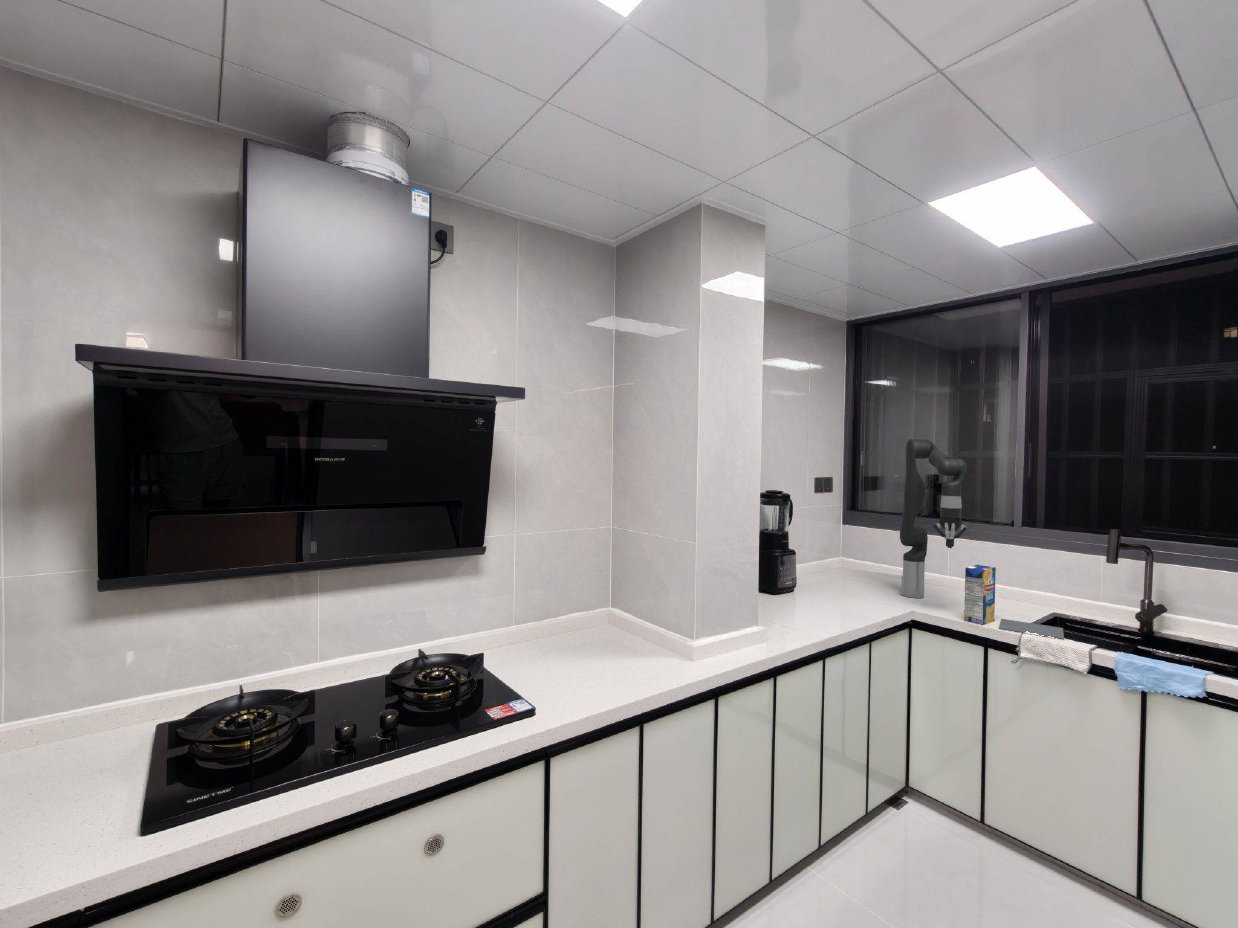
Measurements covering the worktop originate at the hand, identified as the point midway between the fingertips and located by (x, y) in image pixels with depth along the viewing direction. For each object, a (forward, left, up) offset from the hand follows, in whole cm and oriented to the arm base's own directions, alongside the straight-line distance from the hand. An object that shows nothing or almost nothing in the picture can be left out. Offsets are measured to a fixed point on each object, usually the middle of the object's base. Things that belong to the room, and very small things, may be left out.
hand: (949, 547), depth 235 cm
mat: (+28, 0, -29) cm, 40 cm away
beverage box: (+11, 0, -29) cm, 31 cm away
